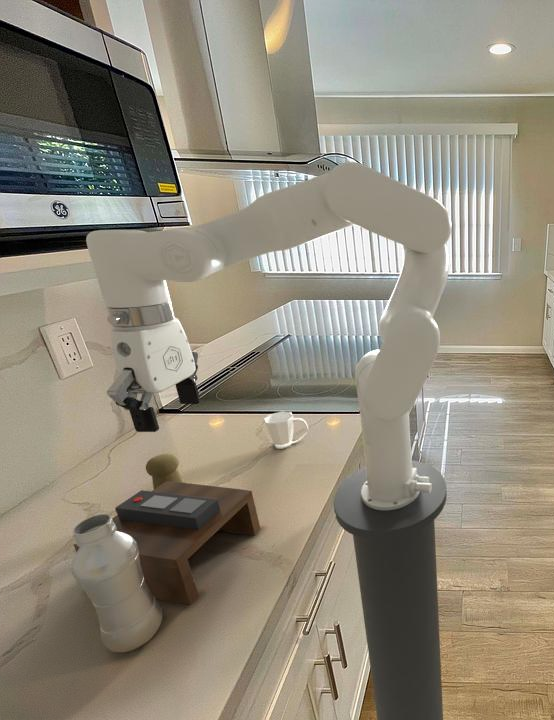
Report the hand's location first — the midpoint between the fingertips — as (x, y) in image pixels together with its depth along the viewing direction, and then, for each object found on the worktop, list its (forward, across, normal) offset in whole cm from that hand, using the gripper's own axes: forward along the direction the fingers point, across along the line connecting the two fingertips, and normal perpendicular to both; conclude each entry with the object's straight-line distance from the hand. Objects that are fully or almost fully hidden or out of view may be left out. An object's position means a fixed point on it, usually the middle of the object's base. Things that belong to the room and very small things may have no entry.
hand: (170, 416), depth 65 cm
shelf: (+25, -5, +1) cm, 26 cm away
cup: (+25, +32, -2) cm, 41 cm away
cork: (+26, +10, +12) cm, 30 cm away
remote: (+16, -5, +1) cm, 17 cm away
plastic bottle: (+25, -19, -3) cm, 32 cm away
